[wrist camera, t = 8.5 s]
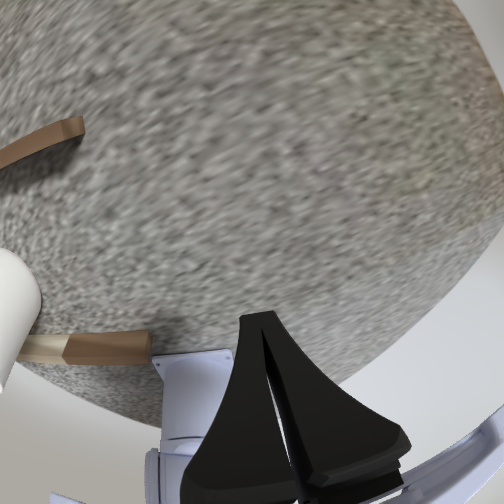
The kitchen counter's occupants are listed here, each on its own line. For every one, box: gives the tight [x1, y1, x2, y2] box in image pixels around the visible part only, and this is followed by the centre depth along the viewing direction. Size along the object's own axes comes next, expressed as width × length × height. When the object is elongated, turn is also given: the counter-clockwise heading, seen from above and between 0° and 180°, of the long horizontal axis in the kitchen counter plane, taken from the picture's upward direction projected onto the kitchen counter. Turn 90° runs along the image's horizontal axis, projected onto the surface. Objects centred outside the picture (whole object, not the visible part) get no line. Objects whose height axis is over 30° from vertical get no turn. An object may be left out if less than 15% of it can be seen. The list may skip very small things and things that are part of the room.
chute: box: [0, 116, 152, 365], centre depth 16 cm, size 19×18×3 cm
